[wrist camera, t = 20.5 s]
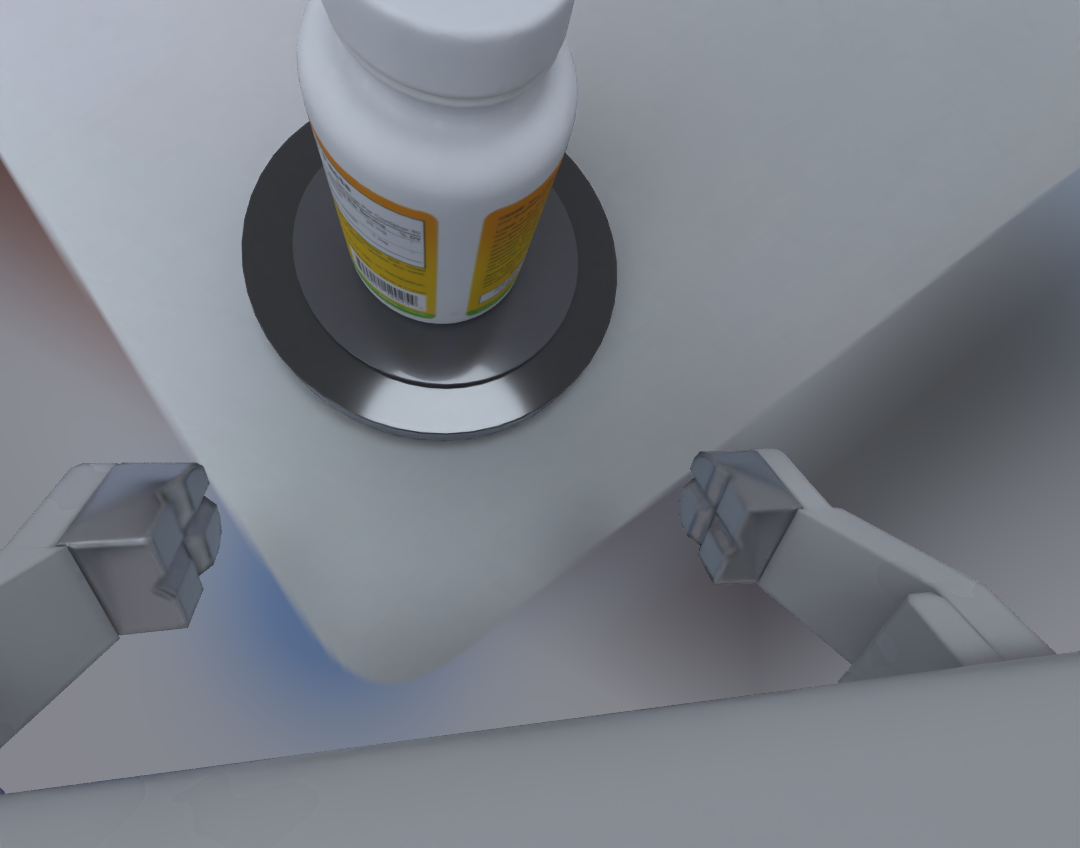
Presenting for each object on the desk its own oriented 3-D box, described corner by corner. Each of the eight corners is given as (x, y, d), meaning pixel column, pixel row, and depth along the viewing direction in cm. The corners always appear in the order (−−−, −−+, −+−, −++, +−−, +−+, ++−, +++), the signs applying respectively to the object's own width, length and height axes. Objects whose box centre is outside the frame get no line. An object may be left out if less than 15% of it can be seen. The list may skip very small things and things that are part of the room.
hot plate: (661, 337, 20) (684, 320, 18) (377, 510, 17) (371, 510, 15) (494, 76, 20) (501, 35, 19) (185, 198, 17) (158, 163, 15)
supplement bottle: (509, 170, 18) (601, -214, 8) (531, 321, 17) (660, 87, 8) (341, 170, 17) (229, -278, 7) (357, 334, 16) (257, 72, 6)
